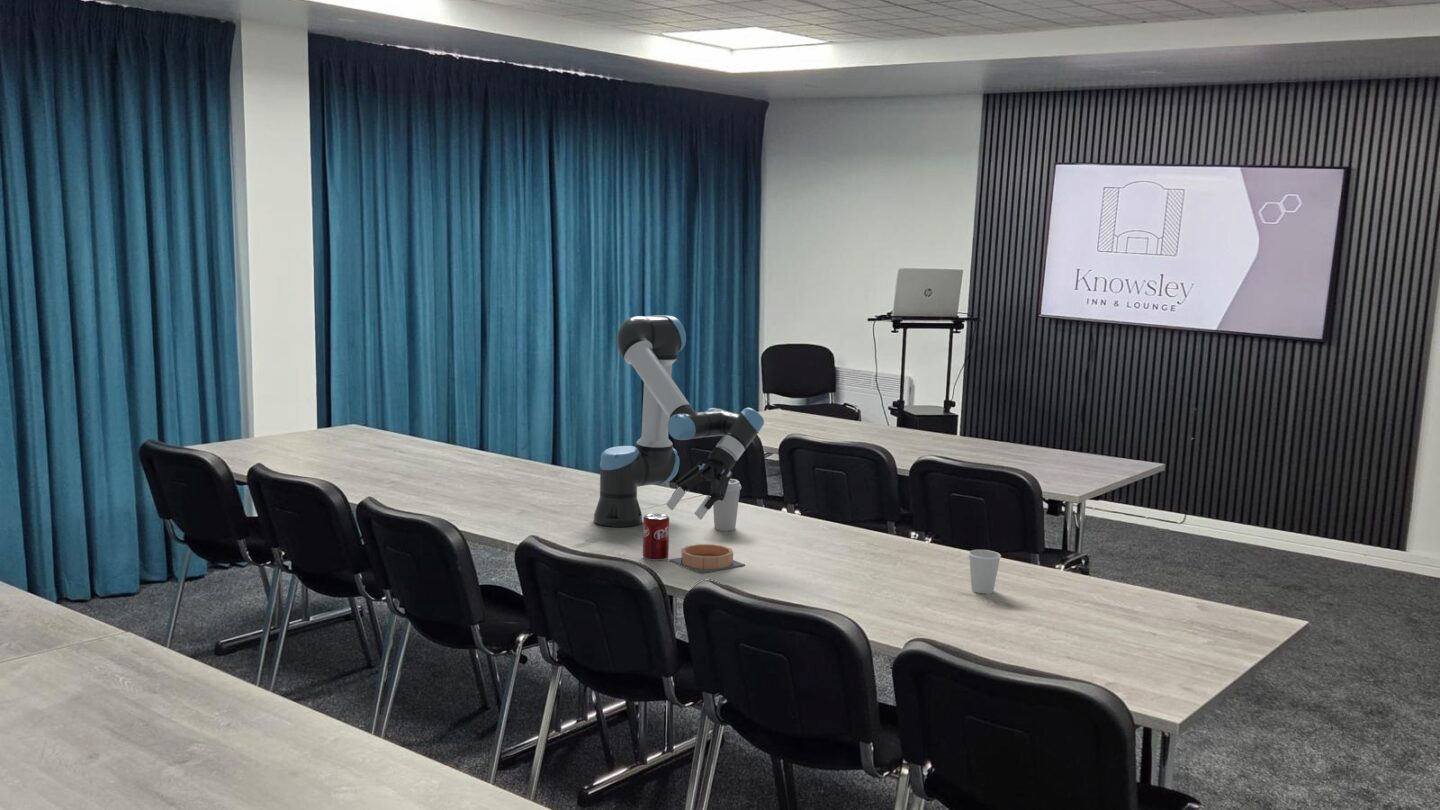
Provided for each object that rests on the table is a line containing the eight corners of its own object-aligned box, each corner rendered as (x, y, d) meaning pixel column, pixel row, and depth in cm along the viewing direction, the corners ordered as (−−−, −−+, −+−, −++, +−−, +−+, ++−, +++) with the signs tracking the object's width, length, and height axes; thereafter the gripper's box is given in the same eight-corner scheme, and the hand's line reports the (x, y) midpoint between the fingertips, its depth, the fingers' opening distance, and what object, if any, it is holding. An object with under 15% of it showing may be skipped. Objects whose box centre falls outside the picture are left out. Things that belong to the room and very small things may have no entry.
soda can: (672, 556, 335) (673, 514, 334) (662, 562, 329) (663, 520, 327) (648, 553, 338) (649, 512, 336) (638, 559, 331) (639, 517, 329)
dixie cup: (963, 585, 316) (965, 548, 314) (995, 586, 315) (997, 550, 314) (969, 594, 307) (971, 557, 306) (1001, 596, 307) (1004, 558, 306)
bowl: (669, 560, 331) (669, 548, 330) (711, 553, 340) (712, 541, 339) (701, 573, 319) (701, 560, 318) (744, 565, 328) (745, 553, 327)
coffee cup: (737, 533, 364) (738, 485, 362) (706, 530, 366) (708, 482, 364) (742, 525, 373) (744, 479, 371) (713, 523, 375) (714, 477, 373)
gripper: (760, 469, 335) (717, 528, 328) (706, 455, 355) (665, 511, 347) (746, 452, 331) (702, 512, 324) (692, 439, 351) (650, 495, 343)
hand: (683, 511), depth 336 cm, fingers open, 13 cm apart
